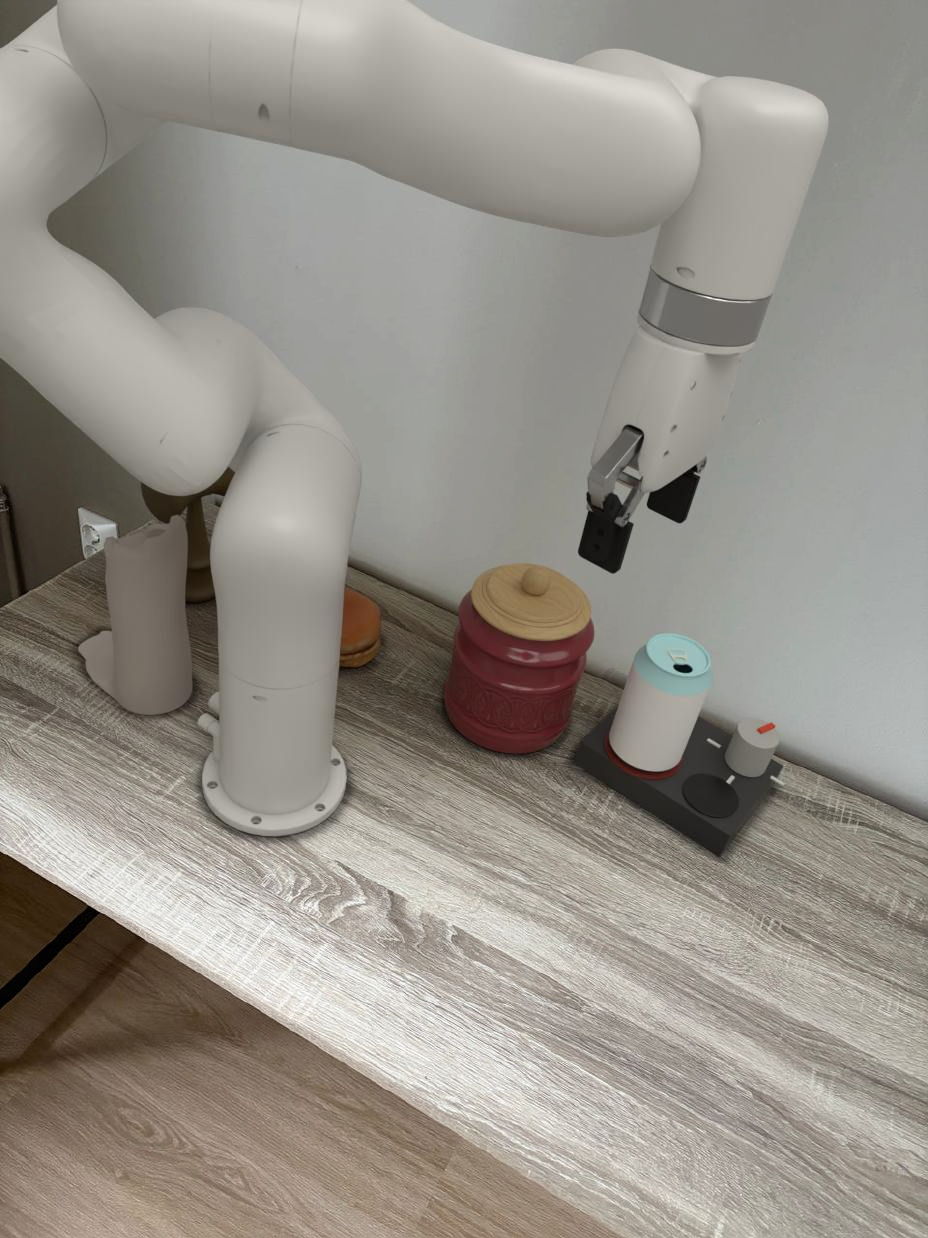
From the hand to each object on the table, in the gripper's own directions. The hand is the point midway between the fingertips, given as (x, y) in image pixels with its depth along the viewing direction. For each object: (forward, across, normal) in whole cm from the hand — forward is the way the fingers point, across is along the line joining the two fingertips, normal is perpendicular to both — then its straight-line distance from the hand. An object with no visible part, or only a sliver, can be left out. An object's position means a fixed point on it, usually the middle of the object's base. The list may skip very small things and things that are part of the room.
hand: (633, 538), depth 71 cm
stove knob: (+27, -16, +11) cm, 34 cm away
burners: (+27, -13, +6) cm, 31 cm away
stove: (+30, -13, +6) cm, 34 cm away
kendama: (+31, +2, -46) cm, 55 cm away
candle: (+31, +15, -40) cm, 52 cm away
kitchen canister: (+31, -8, -11) cm, 33 cm away
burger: (+31, -3, -30) cm, 43 cm away
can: (+27, -10, +3) cm, 29 cm away
